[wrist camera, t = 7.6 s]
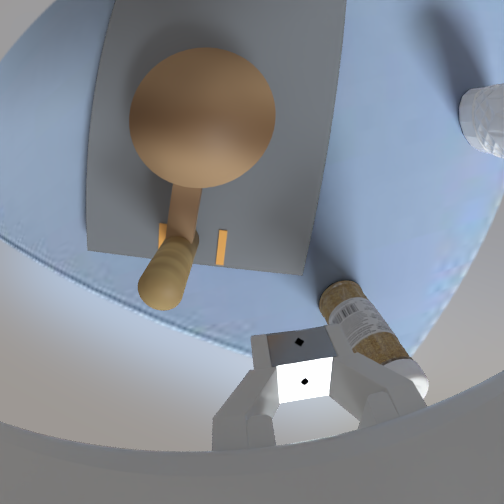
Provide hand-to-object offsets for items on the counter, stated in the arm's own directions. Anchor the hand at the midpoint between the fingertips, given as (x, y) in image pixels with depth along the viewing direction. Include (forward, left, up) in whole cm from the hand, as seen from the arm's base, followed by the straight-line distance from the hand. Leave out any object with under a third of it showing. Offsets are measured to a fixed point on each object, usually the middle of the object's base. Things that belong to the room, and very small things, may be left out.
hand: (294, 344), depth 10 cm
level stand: (-8, -5, -16) cm, 18 cm away
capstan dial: (-5, -5, -13) cm, 15 cm away
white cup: (-14, +21, -16) cm, 30 cm away
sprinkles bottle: (+7, +9, -16) cm, 19 cm away
